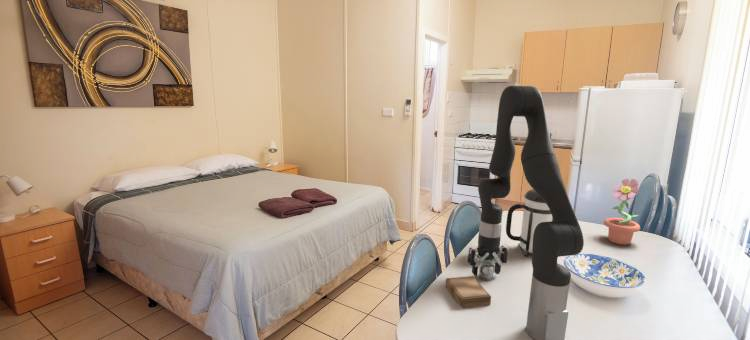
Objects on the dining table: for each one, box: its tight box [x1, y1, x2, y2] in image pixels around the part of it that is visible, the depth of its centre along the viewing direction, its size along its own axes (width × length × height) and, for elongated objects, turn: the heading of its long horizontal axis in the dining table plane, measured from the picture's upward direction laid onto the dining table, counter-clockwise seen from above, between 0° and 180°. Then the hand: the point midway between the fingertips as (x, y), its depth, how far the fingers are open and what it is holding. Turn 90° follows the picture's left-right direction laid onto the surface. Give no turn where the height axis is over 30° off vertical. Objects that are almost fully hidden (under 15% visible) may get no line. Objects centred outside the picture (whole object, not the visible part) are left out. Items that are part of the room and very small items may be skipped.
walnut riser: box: [445, 276, 492, 309], centre depth 120 cm, size 13×10×3 cm
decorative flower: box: [603, 178, 641, 246], centre depth 164 cm, size 15×14×30 cm
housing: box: [478, 262, 495, 282], centre depth 131 cm, size 5×5×5 cm
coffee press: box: [505, 188, 554, 257], centre depth 151 cm, size 17×16×30 cm
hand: (485, 274), depth 132 cm, fingers open, 8 cm apart
